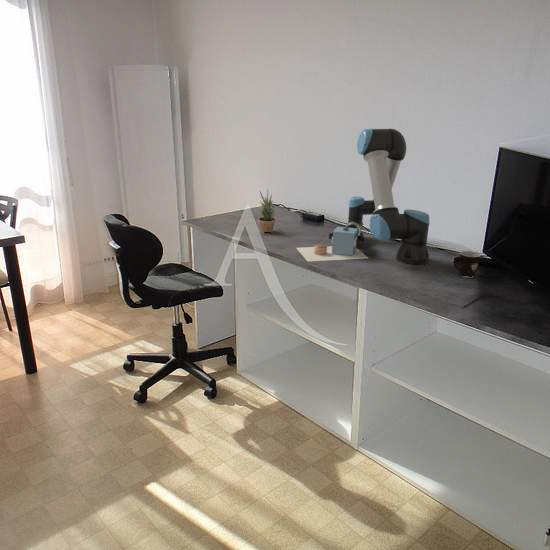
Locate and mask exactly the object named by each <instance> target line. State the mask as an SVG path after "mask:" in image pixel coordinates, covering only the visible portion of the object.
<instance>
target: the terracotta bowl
mask: <svg viewBox="0 0 550 550" xmlns="http://www.w3.org/2000/svg"><path fill="white" fill-rule="evenodd" d="M314 247H315V249H314V254H316V255H326V254H327V245H325V244H316V245H314Z"/></svg>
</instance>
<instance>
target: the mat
mask: <svg viewBox="0 0 550 550" xmlns="http://www.w3.org/2000/svg"><path fill="white" fill-rule="evenodd" d="M326 246H327V245H326ZM295 248H296V250H297V251H298V253H300V255H302V257H303V258H304V259H305V260H306V262H323V261H342V260H344V261H345V260H363V259H369V257H368V256H367V255H366V254H365V253H363V252H362V251H361V250H360V249H358V248H357V247H356V251H355V253H354V254H353V256H349V255H340V254H332V245H329V246H327V254H326V255H316V254H314V249H315V246H308V247H307V246H304V247H295Z"/></svg>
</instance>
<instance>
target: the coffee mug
mask: <svg viewBox="0 0 550 550" xmlns="http://www.w3.org/2000/svg"><path fill="white" fill-rule="evenodd" d="M481 256H482V254H481V253H479V252H477V251H473V250H472V251H471V250H462V251H459V257H456V258H454V260H453V266H454V268H456V269H457V270H458V272H459V273H458V274H460V275H462V276H469V277H472V276H475V277H476V274H477V270H478V267H479V263H480V260H481V258H482V257H481ZM457 260H459V266H457V265H456V262H457Z"/></svg>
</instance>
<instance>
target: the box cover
mask: <svg viewBox="0 0 550 550" xmlns="http://www.w3.org/2000/svg"><path fill="white" fill-rule="evenodd" d="M357 231H358V228H348V227H346V226H337V227H336V228H335V229H334V230H333V231H332V232H333V244H332V245H331V246H332V254H340V255H349V256H353V254H354V253H355V251H356V248H357V244H358V243H357V244H356V245H355V246H354V239H355V238H356V237H357Z"/></svg>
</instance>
